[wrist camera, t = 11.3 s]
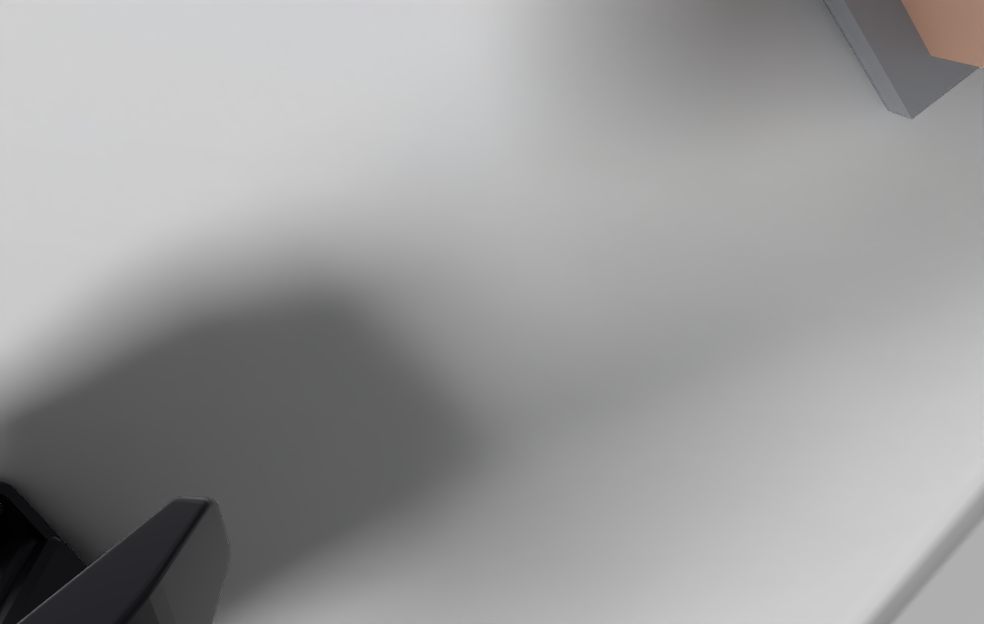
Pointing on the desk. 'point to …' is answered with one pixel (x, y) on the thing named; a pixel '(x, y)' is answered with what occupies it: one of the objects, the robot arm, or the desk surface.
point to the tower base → (913, 46)
